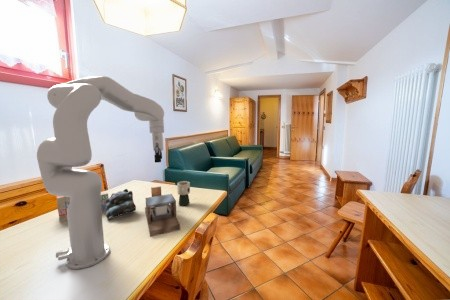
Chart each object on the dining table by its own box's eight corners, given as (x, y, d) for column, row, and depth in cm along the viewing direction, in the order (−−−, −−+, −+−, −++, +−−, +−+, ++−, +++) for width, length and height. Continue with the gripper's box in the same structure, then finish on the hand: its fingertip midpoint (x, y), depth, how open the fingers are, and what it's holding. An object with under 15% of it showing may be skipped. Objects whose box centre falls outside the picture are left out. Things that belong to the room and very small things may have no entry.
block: (156, 219, 92) (155, 207, 91) (155, 214, 96) (154, 203, 95) (167, 217, 94) (166, 205, 93) (165, 212, 98) (165, 201, 97)
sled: (152, 221, 89) (151, 201, 88) (148, 204, 107) (147, 188, 106) (171, 217, 93) (171, 198, 92) (164, 201, 111) (164, 185, 110)
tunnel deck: (150, 236, 82) (148, 212, 80) (145, 211, 105) (144, 192, 104) (180, 229, 87) (179, 206, 86) (169, 207, 111) (168, 188, 109)
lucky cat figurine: (100, 222, 94) (96, 194, 98) (114, 220, 106) (110, 195, 109) (131, 212, 95) (126, 184, 98) (141, 211, 106) (136, 186, 110)
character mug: (190, 207, 110) (189, 185, 108) (177, 208, 109) (176, 186, 107) (190, 200, 121) (189, 179, 119) (178, 201, 120) (177, 180, 118)
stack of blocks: (107, 206, 113) (105, 185, 111) (109, 209, 108) (107, 188, 106) (59, 217, 99) (56, 194, 97) (59, 222, 94) (56, 197, 93)
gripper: (163, 130, 100) (165, 163, 103) (164, 129, 117) (166, 157, 119) (147, 131, 98) (149, 164, 101) (151, 129, 115) (153, 158, 118)
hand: (158, 160), depth 110 cm, fingers open, 9 cm apart
